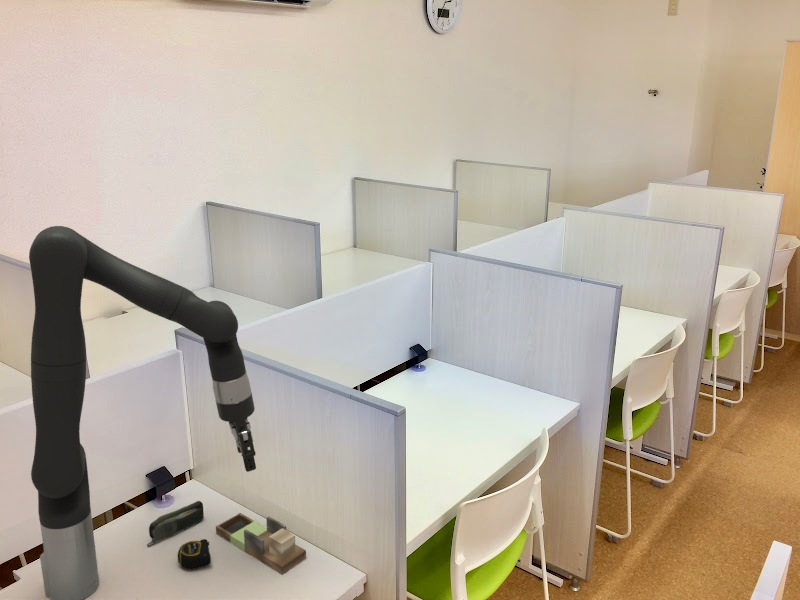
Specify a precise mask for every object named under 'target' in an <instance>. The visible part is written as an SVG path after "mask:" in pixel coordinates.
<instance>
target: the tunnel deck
mask: <svg viewBox="0 0 800 600" xmlns="http://www.w3.org/2000/svg"><path fill="white" fill-rule="evenodd" d="M254 521H255V520H254V519H252V518H250V517H249V516H246V515H245V514H243V513H241V512H240V513H238V514H236V515H234V516H232V517H230V518H229V519H227V520H225V521H223V522H222V523H220V524H218V525H216V526H215V531H216V532H215V534H216V535H217V536H219V537H221V538H222V539H224V540H225V541H227V542H229V543H230V544H232V543H231V541H230V535H232V534H233V533H235V532H237V531H238V530H240V529H242V528H244V527H245V526H247V525H249V524H250V523H252V522H254ZM266 528H267V531H265V532H263V533H262V534H260V535H259V536H257V535H255V534H253V533H251V532H250V531H248V530H244V544H245V551H244V552H245V553H246V554H248V555H249V556H251V557H253V558H254V559H256V560H258V561H260V562H261V563H262V564H264V565H266V566H267V567H269V568H270V569H272V570H273V571H276V572H277V573H279V574H280V575H284V574H285V573H287V572H288V571H289V570H291V569H292V568H294V567H295V566H297V565H299V564H300V563H301V562H303V561H304V560H306V559H307V550H306V549H304V548H303V547H301V546H299V545H297V544H296V543H295V551H294V552H293V553H291V554H290V555H288V556H287V557H285V558H284V559H280V558H278V557H277V556H275V555H273V554H272V553H270V552H269V536H271V535H272V534H274V533H276V532H277V531H279V530H281V529H282V528H283V529H285V530H287V525H286V524H283V523H282V522H280V521H278V520H276V519H274V518H272V517H271V516H266Z"/></svg>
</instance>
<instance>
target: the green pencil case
mask: <svg viewBox="0 0 800 600" xmlns="http://www.w3.org/2000/svg"><path fill="white" fill-rule="evenodd" d="M204 515H205V514H204V504H203V502H202V501H201V500H197V501H195V502H192V503H191V504H189V505H186V506H183V507H180V508H179V509H177V510H174V511H170V512H169V513H166V514H163V515H161V516H159V517H157V518H156V519H155V520H154V521H152V522H151V523H150V525H149V527H148V534H149V537H150V538H151V541H150V542H148V543H147V544H146V546H147V547H148V548H149V547H151V546H152V545H154V544H156V543H158V542H159V541H163V540H165V539H167V538H169V537H171V536H173V535H176V534H178V533H180V532H181V531H185V530H187V529H189V528H190V527H191V528H192V527H193V526H196V525H197V524H199V523H200V522H202V521H203V520H204V517H205V516H204Z"/></svg>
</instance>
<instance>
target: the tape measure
mask: <svg viewBox="0 0 800 600" xmlns="http://www.w3.org/2000/svg"><path fill="white" fill-rule="evenodd" d="M209 546H210V541H208V539H207V538H203V539H200V540H189V541H187V542H184V543H182V545H181V546H180V547H179V549H178V552H177V561H178V564H179V565H180V567H182V568H183V569H185V570H197V569H199V568H203V567H208V566H210V565H211V561H212V560H211V559H212V557H211V554H210V547H209Z"/></svg>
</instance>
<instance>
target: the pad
mask: <svg viewBox="0 0 800 600" xmlns="http://www.w3.org/2000/svg"><path fill="white" fill-rule="evenodd" d="M244 530H248V531H250V532H251V533H253V534H255V535H257V536H259V535H260V534H262V533H263V532H265V531H267V526H264V525H262V524H261V523H259V522H257V521H255V520H254V522H252V523H250V524H249V525H247V526H245V527H244V528H242V529H240V530H238V531H237V532H235V533H233V534H232V535H230V541H231V543H230V544H232V545H233V546H235V547H236V548H238V549H239V550H242V551H243V552H245V544H244Z"/></svg>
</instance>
